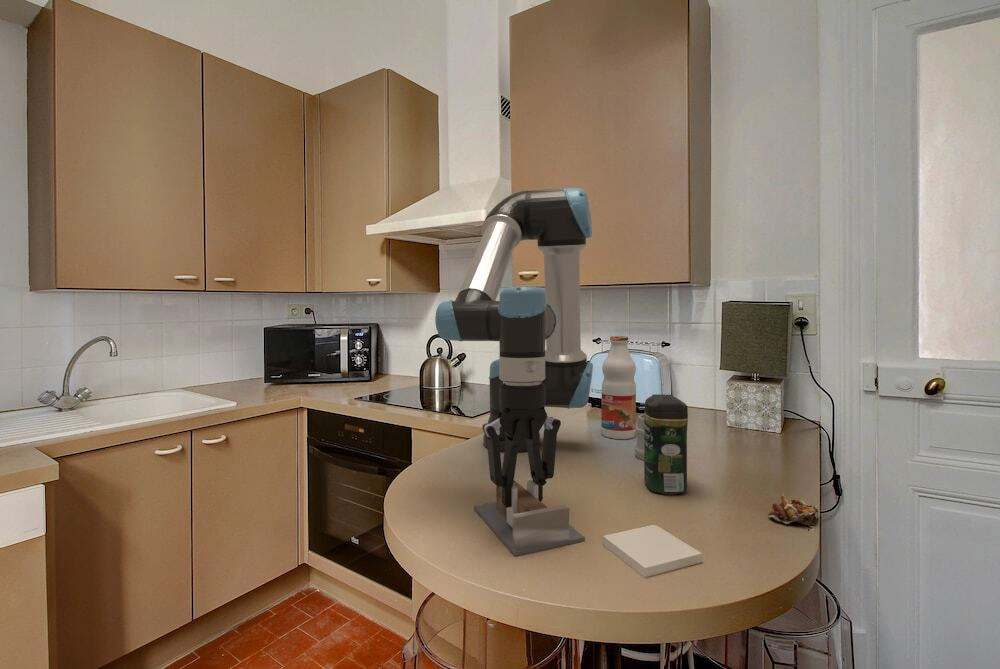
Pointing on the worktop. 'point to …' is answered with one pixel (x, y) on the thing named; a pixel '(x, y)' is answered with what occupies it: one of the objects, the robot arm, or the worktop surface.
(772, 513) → the pastry
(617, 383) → the fruit juice
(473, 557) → the worktop surface
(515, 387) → the robot arm
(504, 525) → the mat
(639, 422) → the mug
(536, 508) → the scraper
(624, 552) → the tile
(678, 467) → the coffee jar
